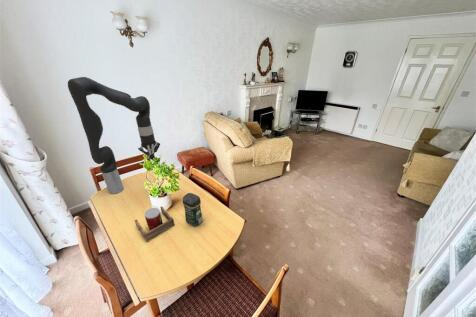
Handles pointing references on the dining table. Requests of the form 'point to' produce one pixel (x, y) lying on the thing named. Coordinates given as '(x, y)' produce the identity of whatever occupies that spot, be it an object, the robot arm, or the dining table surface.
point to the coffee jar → (192, 209)
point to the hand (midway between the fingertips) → (152, 159)
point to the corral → (158, 229)
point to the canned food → (153, 218)
